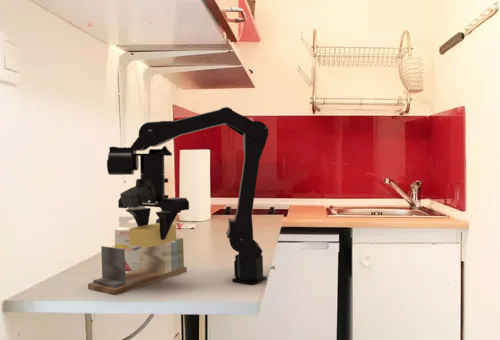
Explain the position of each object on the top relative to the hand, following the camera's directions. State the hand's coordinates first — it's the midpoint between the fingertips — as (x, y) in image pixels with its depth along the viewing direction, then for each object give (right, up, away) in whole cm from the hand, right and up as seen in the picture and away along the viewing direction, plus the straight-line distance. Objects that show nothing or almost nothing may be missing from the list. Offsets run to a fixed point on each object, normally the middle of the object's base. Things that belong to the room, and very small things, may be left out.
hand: (153, 238), depth 107 cm
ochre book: (0, -1, 0) cm, 1 cm away
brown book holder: (-5, -11, +6) cm, 14 cm away
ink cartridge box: (-10, -12, +18) cm, 23 cm away
